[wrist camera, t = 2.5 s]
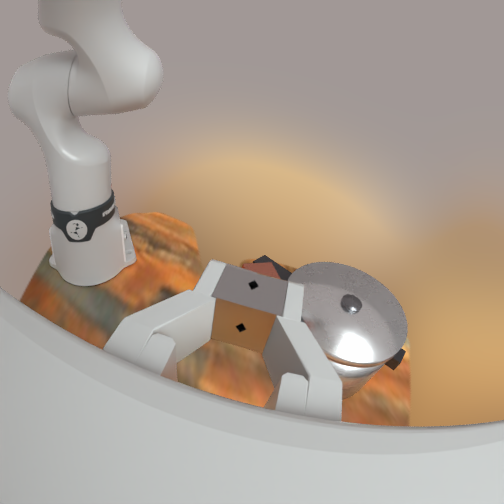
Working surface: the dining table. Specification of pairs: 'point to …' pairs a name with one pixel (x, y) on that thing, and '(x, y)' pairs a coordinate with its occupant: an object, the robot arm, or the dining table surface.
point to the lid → (347, 312)
